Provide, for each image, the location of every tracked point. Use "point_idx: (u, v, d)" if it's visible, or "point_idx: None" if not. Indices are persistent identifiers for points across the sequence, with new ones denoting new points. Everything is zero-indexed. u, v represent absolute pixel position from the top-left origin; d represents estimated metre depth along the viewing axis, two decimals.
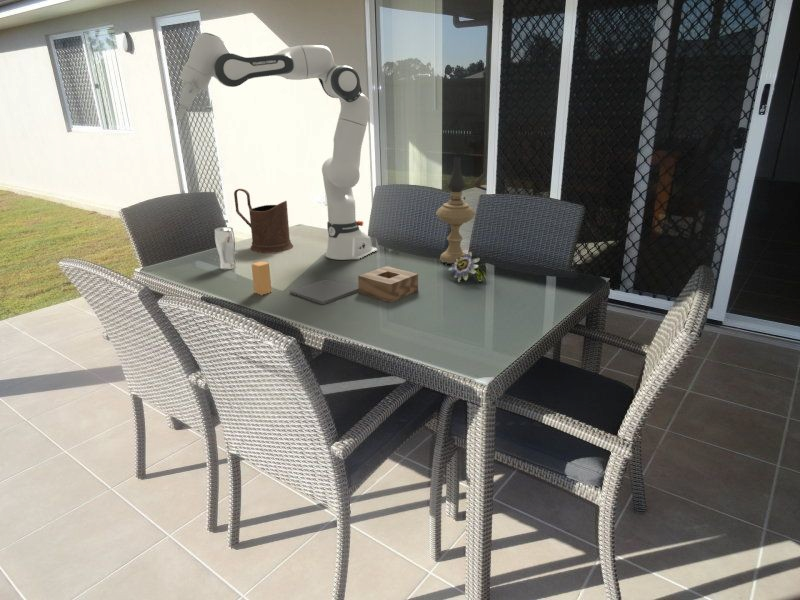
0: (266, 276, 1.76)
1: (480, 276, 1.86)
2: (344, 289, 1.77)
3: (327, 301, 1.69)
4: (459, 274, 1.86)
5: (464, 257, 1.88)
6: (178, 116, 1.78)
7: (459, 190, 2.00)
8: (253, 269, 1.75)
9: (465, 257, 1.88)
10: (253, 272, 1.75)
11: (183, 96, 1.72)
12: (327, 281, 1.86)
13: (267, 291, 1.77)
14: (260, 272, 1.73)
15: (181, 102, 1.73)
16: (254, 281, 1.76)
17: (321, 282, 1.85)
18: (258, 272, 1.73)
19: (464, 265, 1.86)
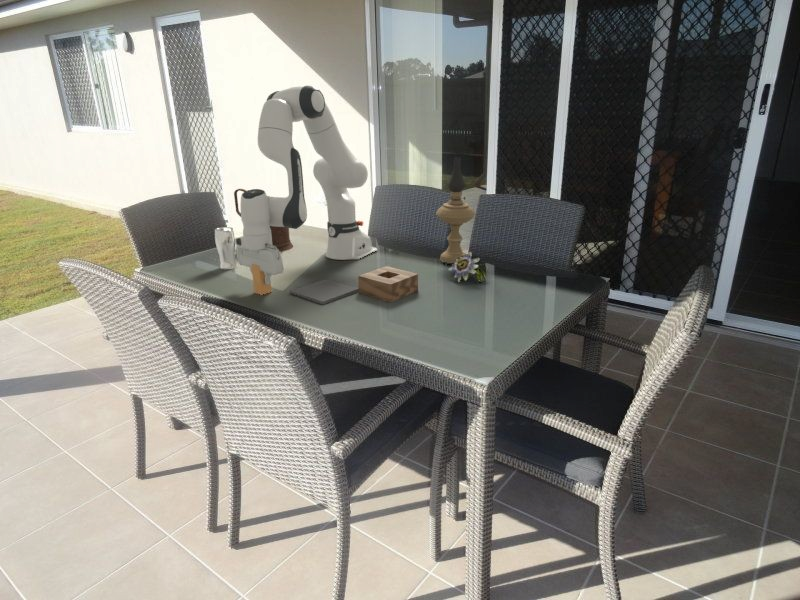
0: None
1: (480, 276, 1.86)
2: (344, 289, 1.77)
3: (327, 301, 1.69)
4: (459, 274, 1.86)
5: (464, 257, 1.88)
6: (267, 282, 1.74)
7: (459, 190, 2.00)
8: (253, 269, 1.75)
9: (465, 257, 1.88)
10: (253, 272, 1.75)
11: (275, 267, 1.68)
12: (327, 281, 1.86)
13: (267, 291, 1.77)
14: (260, 272, 1.73)
15: (276, 273, 1.68)
16: (254, 281, 1.76)
17: (321, 282, 1.85)
18: (258, 272, 1.73)
19: (464, 265, 1.86)
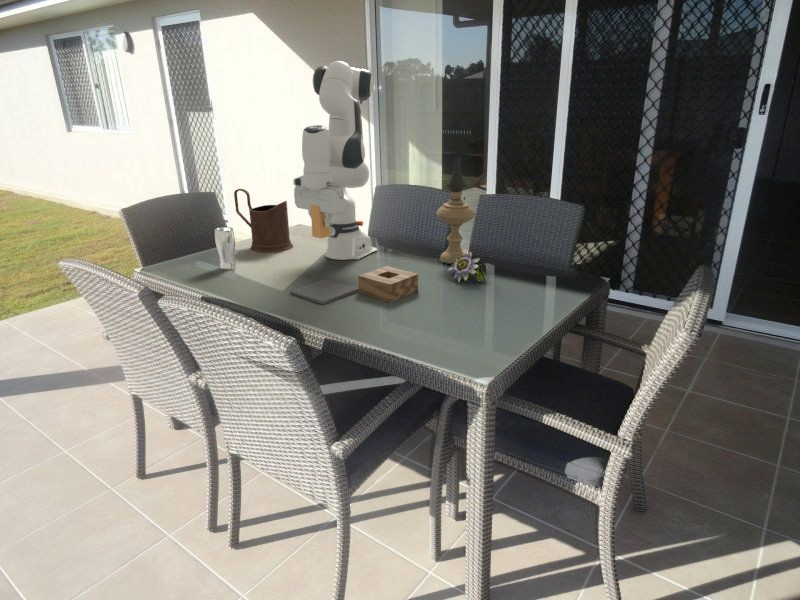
0: None
1: (480, 276, 1.86)
2: (344, 289, 1.77)
3: (327, 301, 1.69)
4: (459, 274, 1.86)
5: (464, 257, 1.88)
6: (327, 224, 1.67)
7: (459, 190, 2.00)
8: (312, 211, 1.68)
9: (465, 257, 1.88)
10: (312, 214, 1.68)
11: (338, 206, 1.61)
12: (327, 281, 1.86)
13: (326, 234, 1.70)
14: (320, 213, 1.66)
15: (338, 213, 1.61)
16: (313, 223, 1.69)
17: (321, 282, 1.85)
18: (318, 213, 1.66)
19: (464, 265, 1.86)
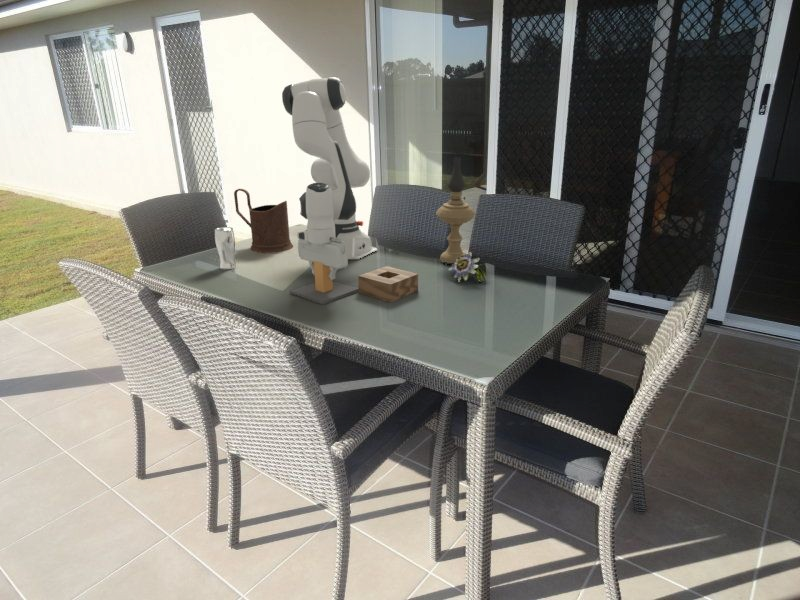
0: (329, 273, 1.75)
1: (480, 276, 1.86)
2: (344, 289, 1.77)
3: (327, 301, 1.69)
4: (459, 274, 1.86)
5: (464, 257, 1.88)
6: (332, 277, 1.73)
7: (459, 190, 2.00)
8: (315, 266, 1.74)
9: (465, 257, 1.88)
10: (315, 269, 1.74)
11: (341, 261, 1.67)
12: None
13: (329, 288, 1.76)
14: (323, 269, 1.72)
15: (341, 267, 1.67)
16: (316, 278, 1.75)
17: None
18: (321, 269, 1.73)
19: (464, 265, 1.86)
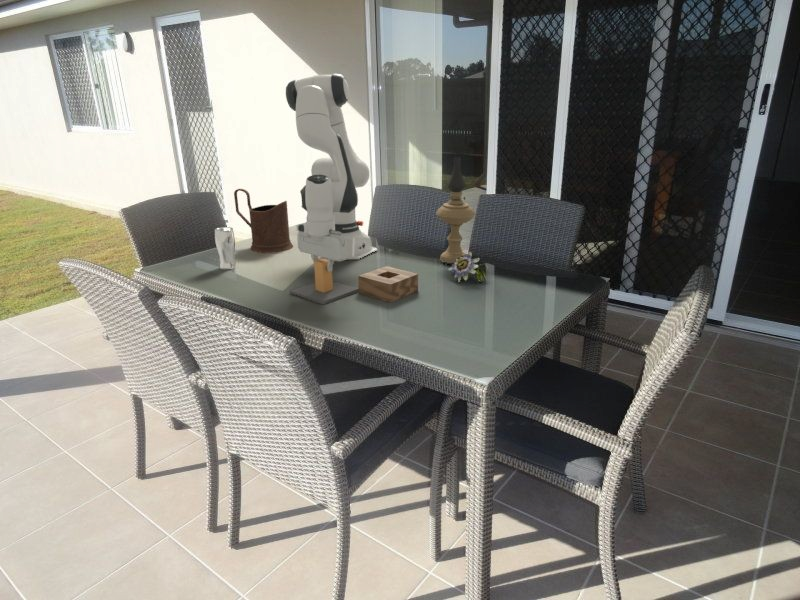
0: (329, 273, 1.75)
1: (480, 276, 1.86)
2: (344, 289, 1.77)
3: (327, 301, 1.69)
4: (459, 274, 1.86)
5: (464, 257, 1.88)
6: (329, 269, 1.72)
7: (459, 190, 2.00)
8: (316, 266, 1.74)
9: (465, 257, 1.88)
10: (315, 269, 1.74)
11: (340, 253, 1.66)
12: None
13: (329, 288, 1.76)
14: (323, 269, 1.72)
15: (341, 259, 1.67)
16: (316, 278, 1.75)
17: None
18: (321, 269, 1.72)
19: (464, 265, 1.86)
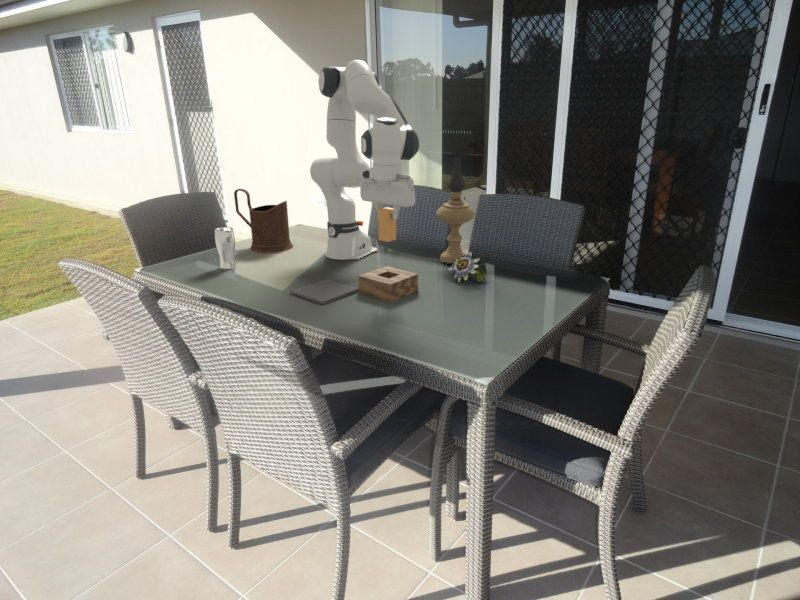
0: (393, 222, 1.69)
1: (480, 276, 1.86)
2: (344, 289, 1.77)
3: (327, 301, 1.69)
4: (459, 274, 1.86)
5: (464, 257, 1.88)
6: (395, 217, 1.67)
7: (459, 190, 2.00)
8: (380, 214, 1.68)
9: (465, 257, 1.88)
10: (379, 218, 1.69)
11: (409, 198, 1.60)
12: (327, 281, 1.86)
13: (392, 238, 1.71)
14: (388, 217, 1.67)
15: (409, 205, 1.61)
16: (380, 227, 1.70)
17: (321, 282, 1.85)
18: (386, 217, 1.67)
19: (464, 265, 1.86)
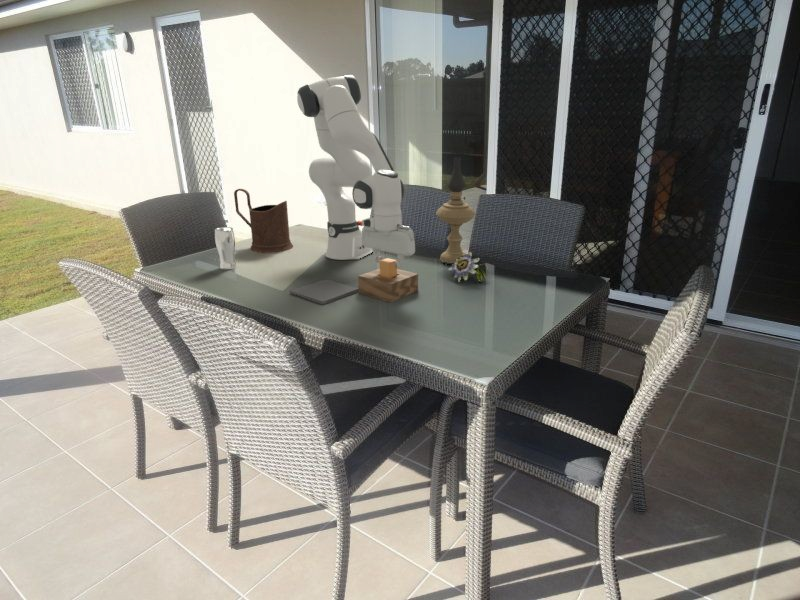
0: (394, 273, 1.75)
1: (480, 276, 1.86)
2: (344, 289, 1.77)
3: (327, 301, 1.69)
4: (459, 274, 1.86)
5: (464, 257, 1.88)
6: (399, 265, 1.71)
7: (459, 190, 2.00)
8: (381, 266, 1.74)
9: (465, 257, 1.88)
10: (381, 269, 1.75)
11: (409, 248, 1.66)
12: (327, 281, 1.86)
13: None
14: (389, 268, 1.73)
15: (409, 254, 1.66)
16: None
17: (321, 282, 1.85)
18: (387, 269, 1.73)
19: (464, 265, 1.86)
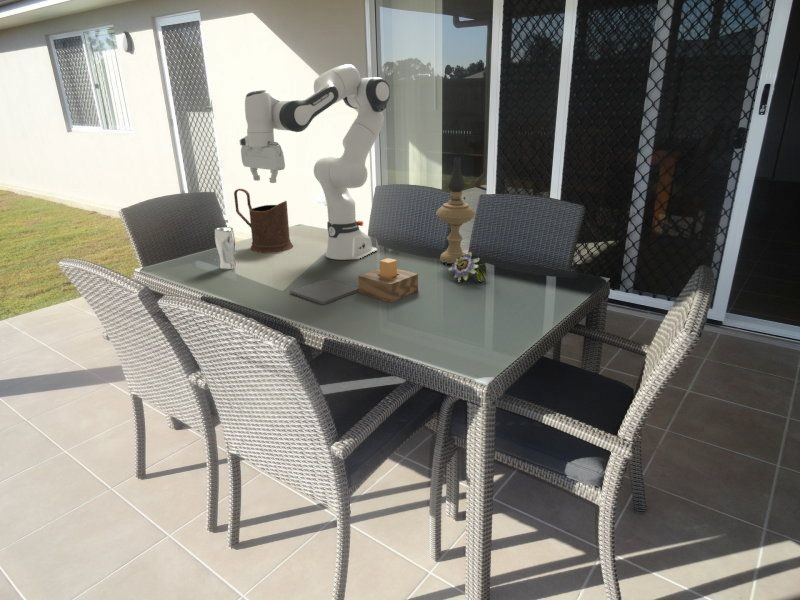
0: (394, 273, 1.75)
1: (480, 276, 1.86)
2: (344, 289, 1.77)
3: (327, 301, 1.69)
4: (459, 274, 1.86)
5: (464, 257, 1.88)
6: (273, 181, 1.85)
7: (459, 190, 2.00)
8: (381, 266, 1.74)
9: (465, 257, 1.88)
10: (381, 269, 1.75)
11: (277, 162, 1.80)
12: (327, 281, 1.86)
13: None
14: (389, 268, 1.73)
15: (278, 168, 1.81)
16: None
17: (321, 282, 1.85)
18: (387, 269, 1.73)
19: (464, 265, 1.86)
